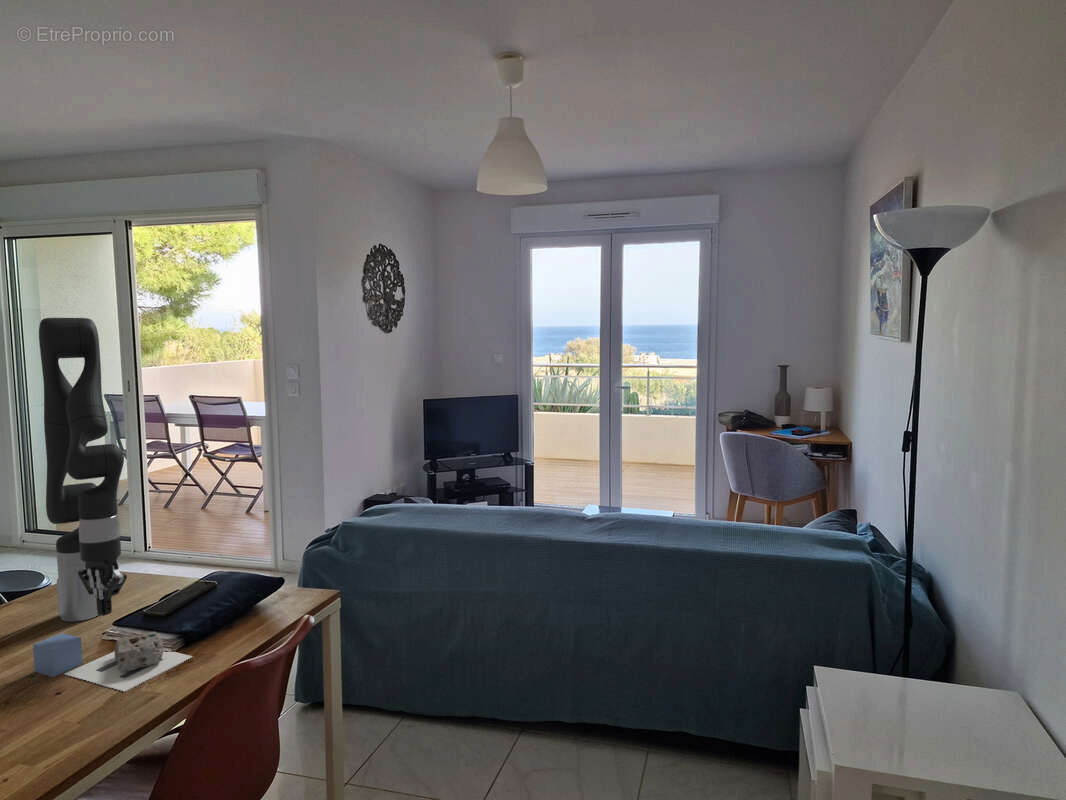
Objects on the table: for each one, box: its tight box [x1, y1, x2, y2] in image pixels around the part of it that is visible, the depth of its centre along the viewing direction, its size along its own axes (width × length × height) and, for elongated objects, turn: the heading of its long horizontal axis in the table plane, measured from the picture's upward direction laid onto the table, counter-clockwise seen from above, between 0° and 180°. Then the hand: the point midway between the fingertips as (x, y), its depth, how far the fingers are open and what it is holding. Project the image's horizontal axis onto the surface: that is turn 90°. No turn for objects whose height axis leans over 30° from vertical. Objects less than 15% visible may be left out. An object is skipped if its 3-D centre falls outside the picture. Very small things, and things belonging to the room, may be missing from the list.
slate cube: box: [32, 632, 83, 678], centre depth 145 cm, size 6×6×6 cm
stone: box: [114, 631, 165, 671], centre depth 148 cm, size 13×6×10 cm
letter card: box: [63, 650, 194, 693], centre depth 146 cm, size 18×16×1 cm
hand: (104, 614), depth 151 cm, fingers closed
